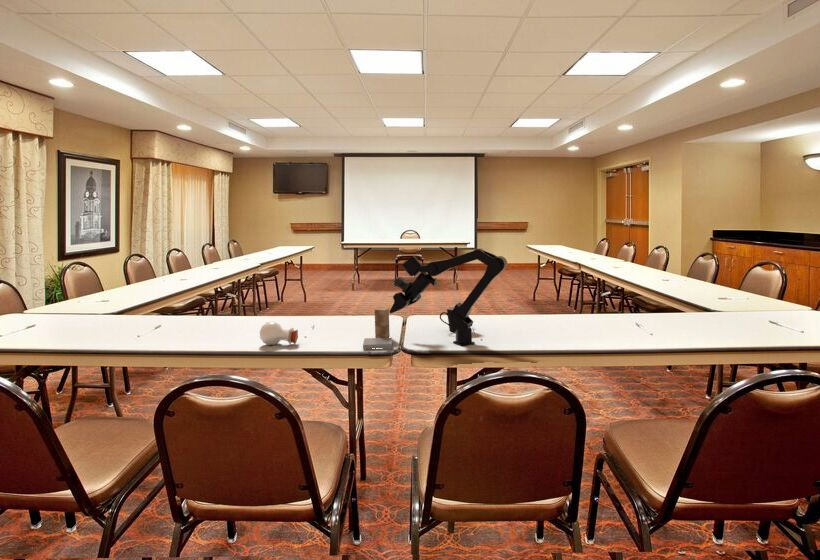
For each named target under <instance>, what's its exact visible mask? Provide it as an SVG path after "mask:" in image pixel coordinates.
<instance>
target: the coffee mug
mask: <svg viewBox="0 0 820 560" xmlns="http://www.w3.org/2000/svg"><path fill="white" fill-rule="evenodd" d="M454 307H455V306H450V307H446V312H445V311H442V312H441V313H440V314H439V319H440V320H441V322H443V323H444V324H445V325H448V328H449V330H448V331H449V332H450V333H456V330H455V328H454V325H453V324H452V323H451V321H450V318H449V317H450V314H451V313H450V312H451V311H452V310H453V309H454ZM443 314H445V315H446V316H447V320H448V321H447V322H446V321H444V320H443V319H442V315H443Z"/></svg>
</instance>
